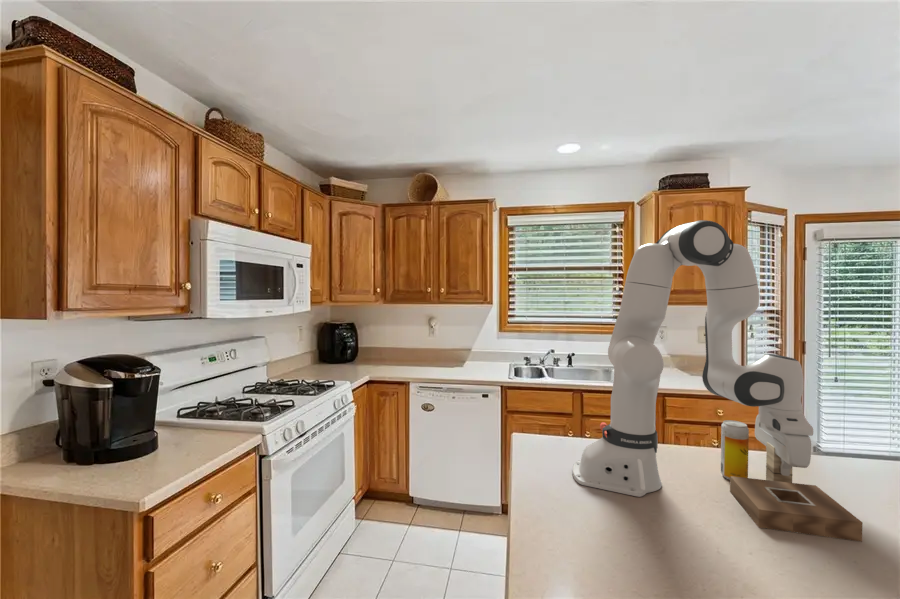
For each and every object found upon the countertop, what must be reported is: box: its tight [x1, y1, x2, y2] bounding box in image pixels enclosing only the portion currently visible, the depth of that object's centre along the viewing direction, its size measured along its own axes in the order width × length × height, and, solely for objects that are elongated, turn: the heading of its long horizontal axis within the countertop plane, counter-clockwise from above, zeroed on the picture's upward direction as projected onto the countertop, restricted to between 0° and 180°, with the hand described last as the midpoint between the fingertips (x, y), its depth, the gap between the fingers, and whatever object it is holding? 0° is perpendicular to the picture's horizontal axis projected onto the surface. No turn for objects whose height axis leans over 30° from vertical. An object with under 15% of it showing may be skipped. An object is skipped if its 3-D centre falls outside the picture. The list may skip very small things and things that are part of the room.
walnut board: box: [729, 476, 863, 543], centre depth 92 cm, size 18×16×4 cm
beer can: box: [720, 419, 750, 481], centre depth 110 cm, size 6×6×15 cm
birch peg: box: [765, 442, 793, 483], centre depth 105 cm, size 4×4×11 cm
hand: (778, 469), depth 105 cm, fingers closed on birch peg, 4 cm apart
